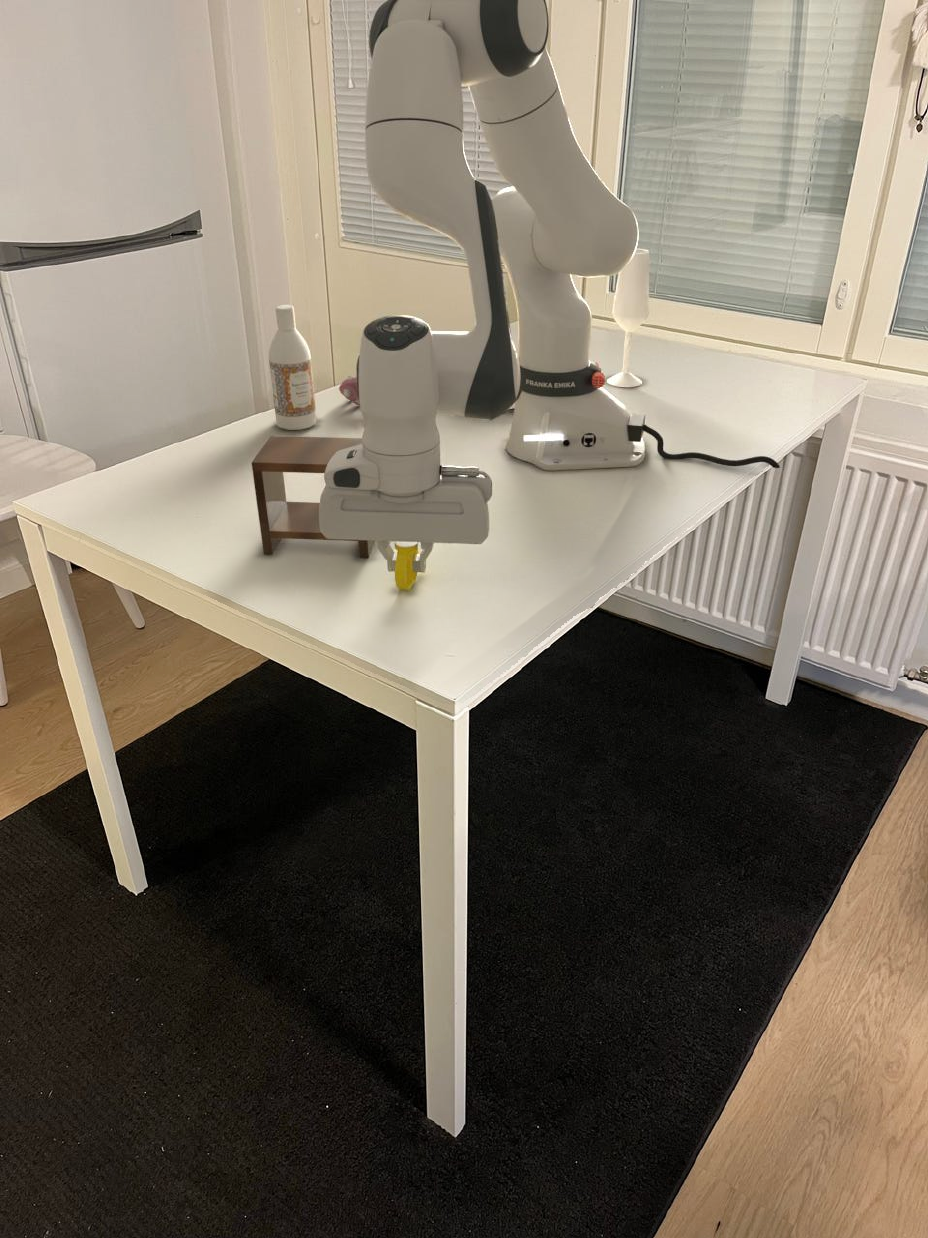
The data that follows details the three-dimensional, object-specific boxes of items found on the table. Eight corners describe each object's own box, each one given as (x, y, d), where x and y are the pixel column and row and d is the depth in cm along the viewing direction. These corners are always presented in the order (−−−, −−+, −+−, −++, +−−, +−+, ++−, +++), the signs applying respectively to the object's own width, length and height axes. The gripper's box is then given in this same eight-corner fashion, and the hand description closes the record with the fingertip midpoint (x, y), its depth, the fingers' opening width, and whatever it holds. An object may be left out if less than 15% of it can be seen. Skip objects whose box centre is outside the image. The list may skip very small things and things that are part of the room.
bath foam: (286, 434, 162) (273, 314, 151) (270, 422, 167) (256, 305, 156) (323, 425, 165) (313, 307, 154) (306, 414, 170) (295, 299, 159)
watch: (412, 598, 115) (410, 555, 112) (390, 596, 116) (387, 552, 113) (424, 574, 120) (423, 532, 117) (403, 572, 121) (401, 530, 118)
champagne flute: (611, 374, 188) (621, 246, 175) (645, 378, 186) (658, 248, 173) (603, 384, 182) (612, 253, 170) (637, 388, 180) (650, 255, 168)
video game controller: (343, 411, 175) (332, 383, 169) (353, 394, 177) (342, 365, 171) (392, 418, 172) (382, 390, 166) (401, 400, 174) (392, 371, 168)
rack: (379, 527, 132) (374, 438, 125) (368, 558, 124) (362, 465, 117) (280, 524, 133) (270, 435, 126) (263, 554, 125) (251, 462, 118)
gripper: (494, 456, 111) (492, 560, 119) (322, 452, 113) (331, 554, 120) (490, 478, 106) (489, 586, 114) (310, 473, 108) (320, 579, 115)
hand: (406, 569), depth 117 cm, fingers closed on watch, 2 cm apart
